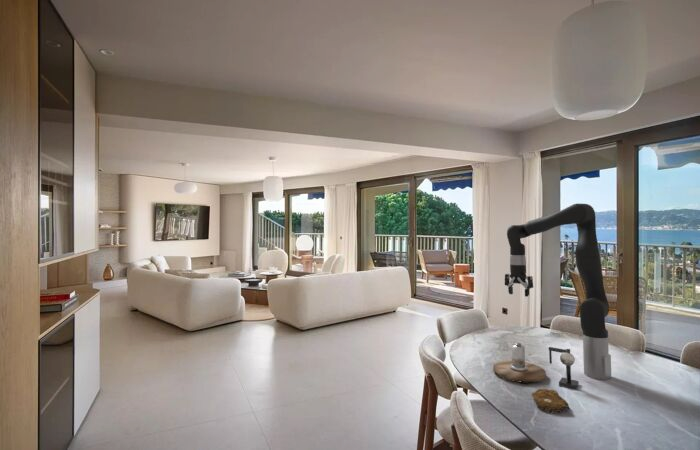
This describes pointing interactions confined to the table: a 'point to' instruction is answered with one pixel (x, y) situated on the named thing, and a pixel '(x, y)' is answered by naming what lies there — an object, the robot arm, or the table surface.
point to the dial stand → (568, 361)
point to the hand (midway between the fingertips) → (518, 295)
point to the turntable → (531, 375)
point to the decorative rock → (549, 400)
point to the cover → (518, 358)
